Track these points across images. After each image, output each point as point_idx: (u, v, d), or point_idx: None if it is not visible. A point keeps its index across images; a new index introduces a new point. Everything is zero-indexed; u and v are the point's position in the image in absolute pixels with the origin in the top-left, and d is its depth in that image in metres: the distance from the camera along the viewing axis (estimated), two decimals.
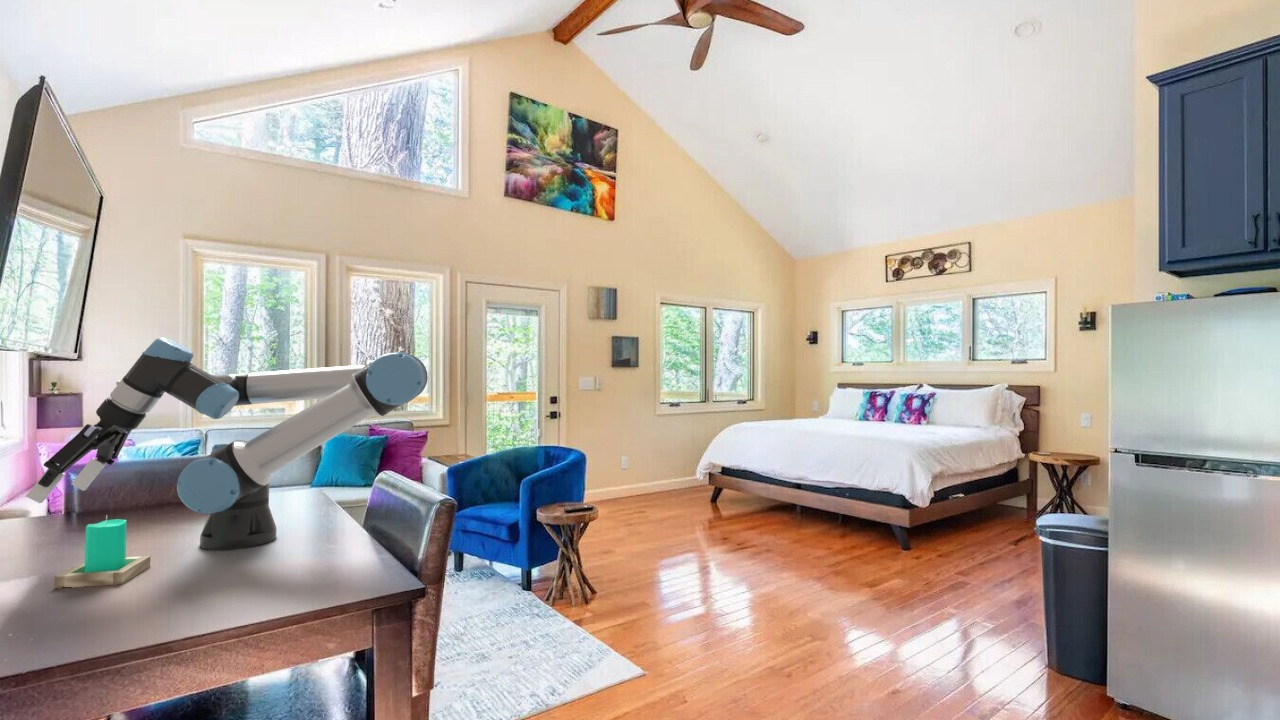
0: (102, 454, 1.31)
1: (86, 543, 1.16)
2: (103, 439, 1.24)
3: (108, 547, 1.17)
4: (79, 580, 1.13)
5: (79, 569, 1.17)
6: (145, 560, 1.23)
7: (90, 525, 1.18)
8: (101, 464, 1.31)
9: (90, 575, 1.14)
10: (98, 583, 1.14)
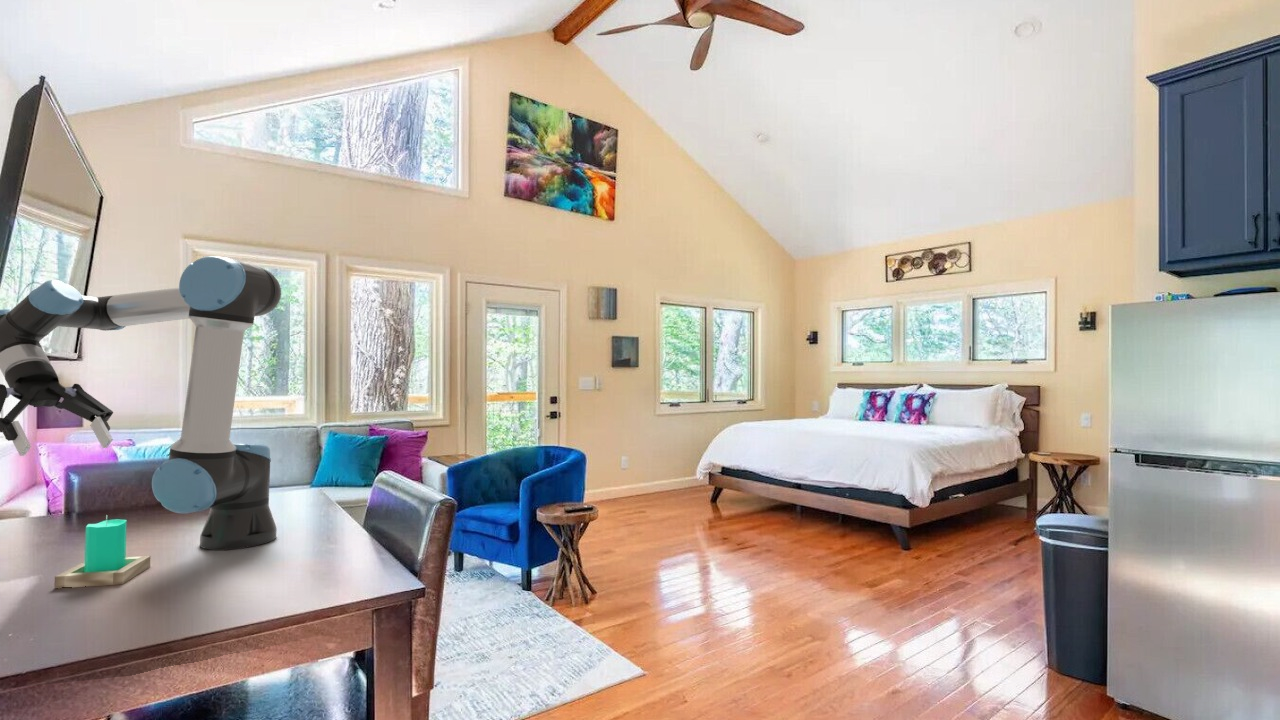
0: (87, 414, 1.31)
1: (86, 543, 1.16)
2: (28, 392, 1.24)
3: (108, 547, 1.17)
4: (79, 580, 1.13)
5: (79, 569, 1.17)
6: (145, 560, 1.23)
7: (90, 525, 1.18)
8: (95, 418, 1.31)
9: (90, 575, 1.14)
10: (98, 583, 1.14)
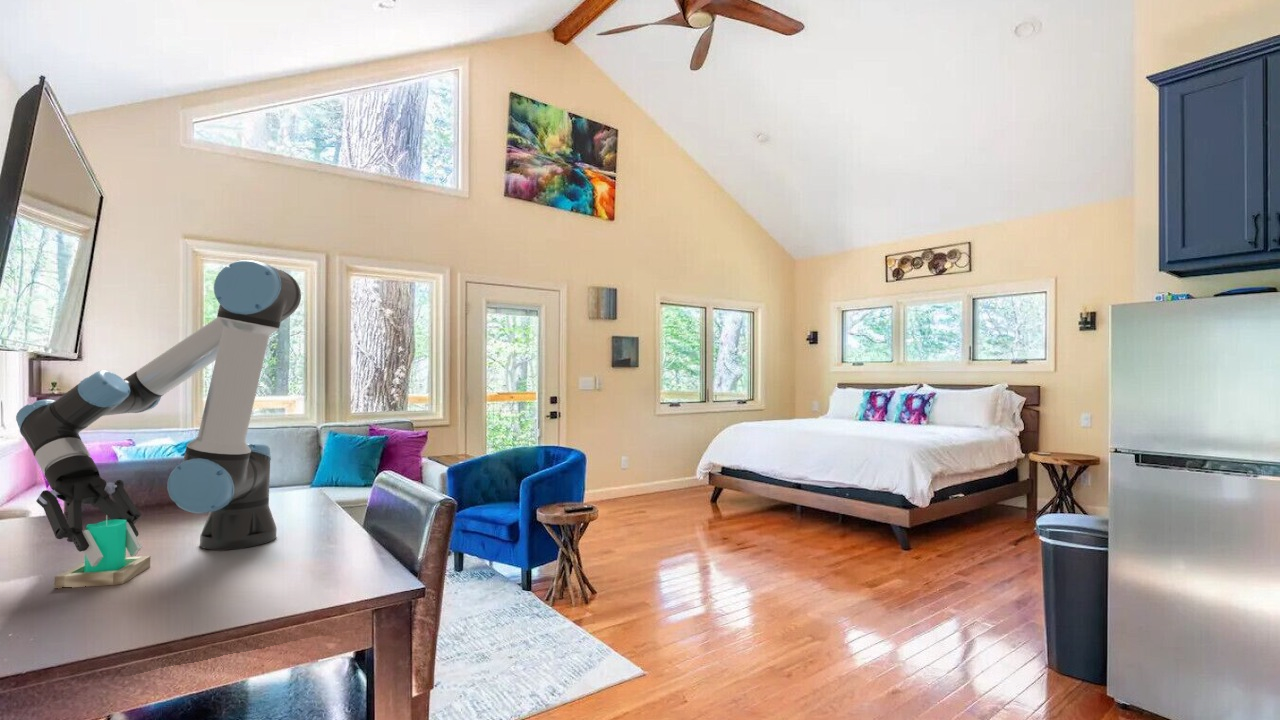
0: (115, 517, 1.23)
1: None
2: (73, 492, 1.19)
3: (108, 547, 1.17)
4: (79, 580, 1.13)
5: (79, 569, 1.17)
6: (145, 560, 1.23)
7: (90, 525, 1.18)
8: None
9: (90, 575, 1.14)
10: (98, 583, 1.14)
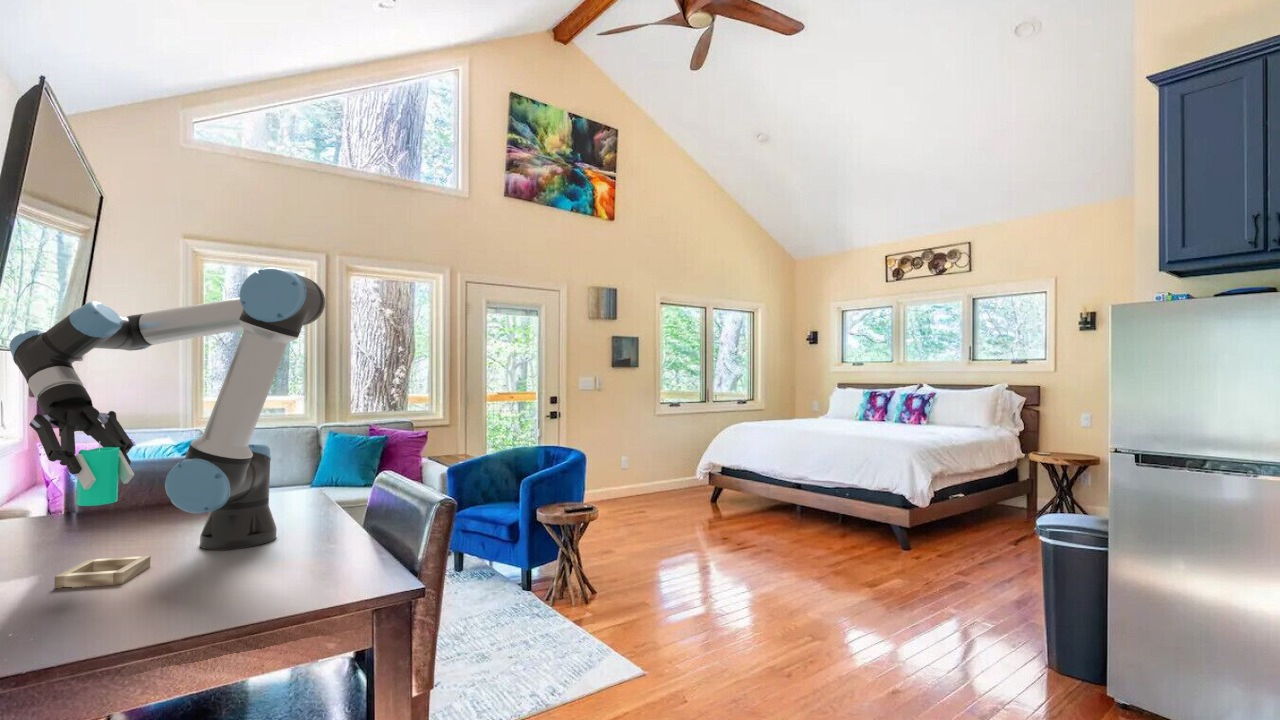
0: (108, 445, 1.24)
1: None
2: (66, 418, 1.20)
3: (101, 471, 1.18)
4: (79, 580, 1.13)
5: (79, 569, 1.17)
6: (145, 560, 1.23)
7: (83, 450, 1.19)
8: None
9: (90, 575, 1.14)
10: (98, 583, 1.14)
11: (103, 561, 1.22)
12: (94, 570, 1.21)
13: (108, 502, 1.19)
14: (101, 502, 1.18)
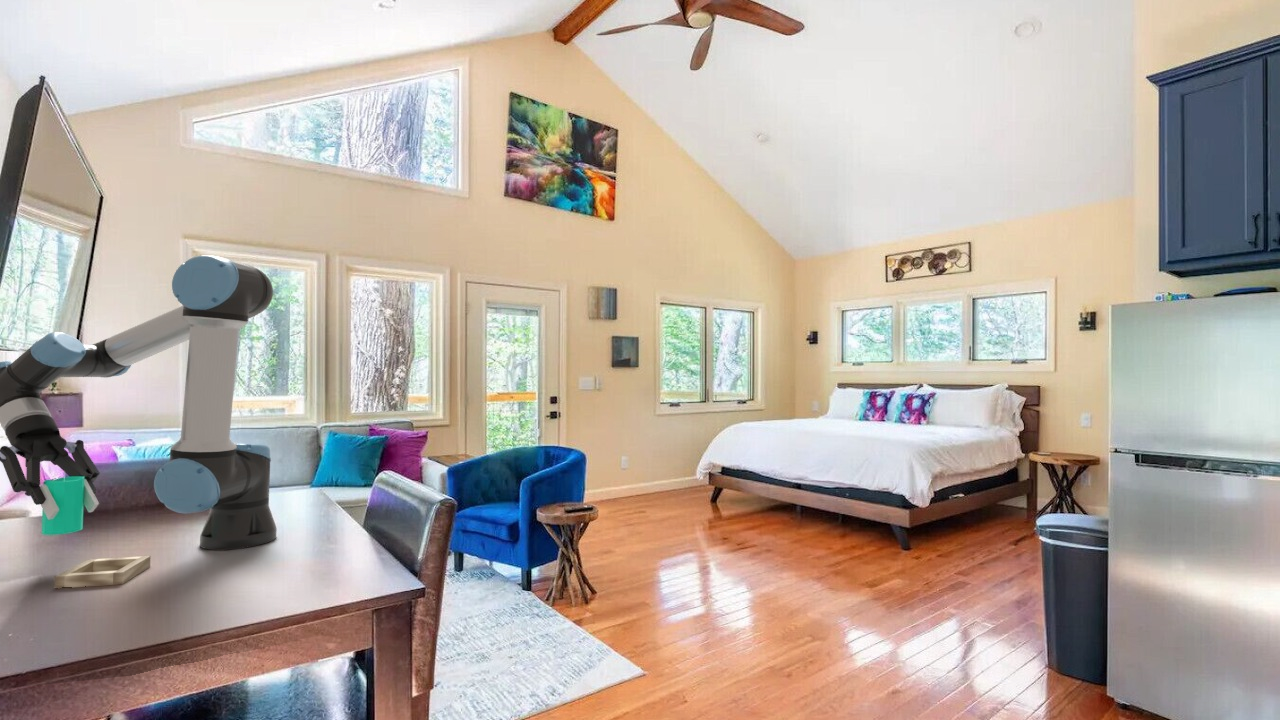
0: (74, 474, 1.27)
1: None
2: (32, 449, 1.23)
3: (65, 501, 1.21)
4: (79, 580, 1.13)
5: (79, 569, 1.17)
6: (145, 560, 1.23)
7: (48, 480, 1.22)
8: None
9: (90, 575, 1.14)
10: (98, 583, 1.14)
11: (103, 561, 1.22)
12: (94, 570, 1.21)
13: (72, 531, 1.22)
14: (65, 531, 1.21)
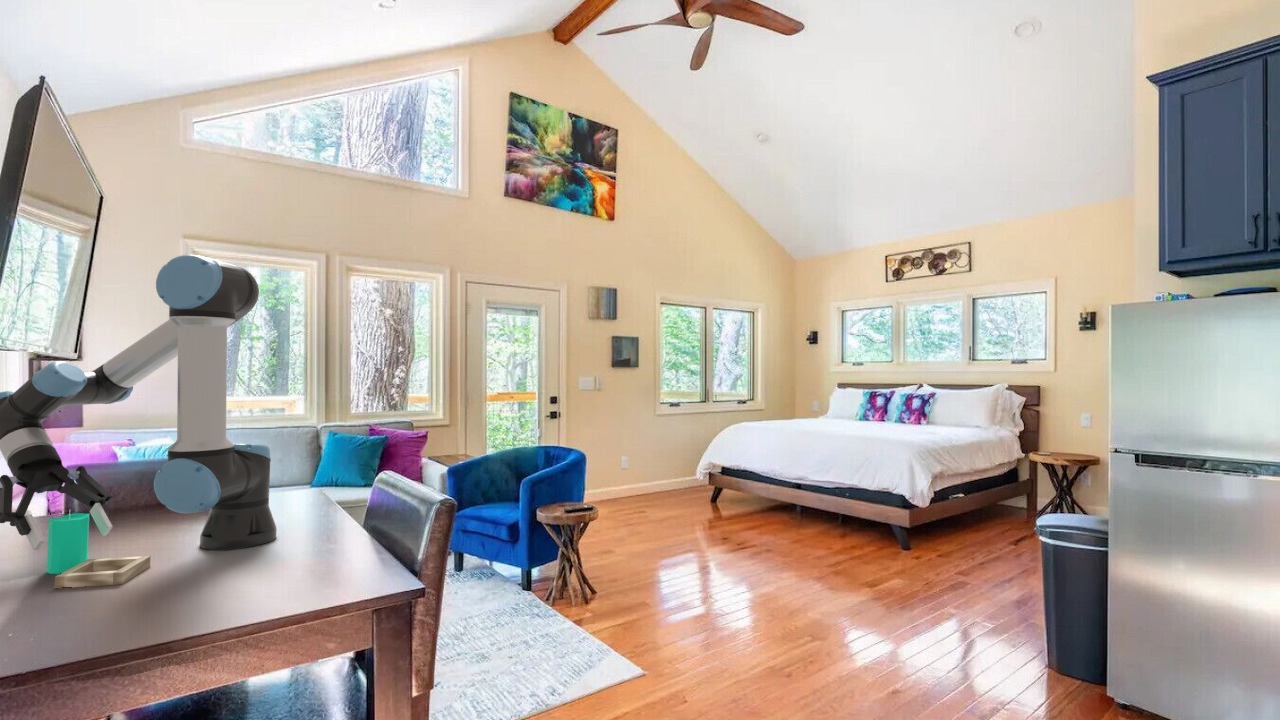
0: (86, 500, 1.29)
1: (49, 536, 1.21)
2: None
3: (71, 539, 1.21)
4: (79, 580, 1.13)
5: (79, 569, 1.17)
6: (145, 560, 1.23)
7: (53, 519, 1.22)
8: (94, 505, 1.28)
9: (90, 575, 1.14)
10: (98, 583, 1.14)
11: (103, 561, 1.22)
12: (94, 570, 1.21)
13: None
14: None
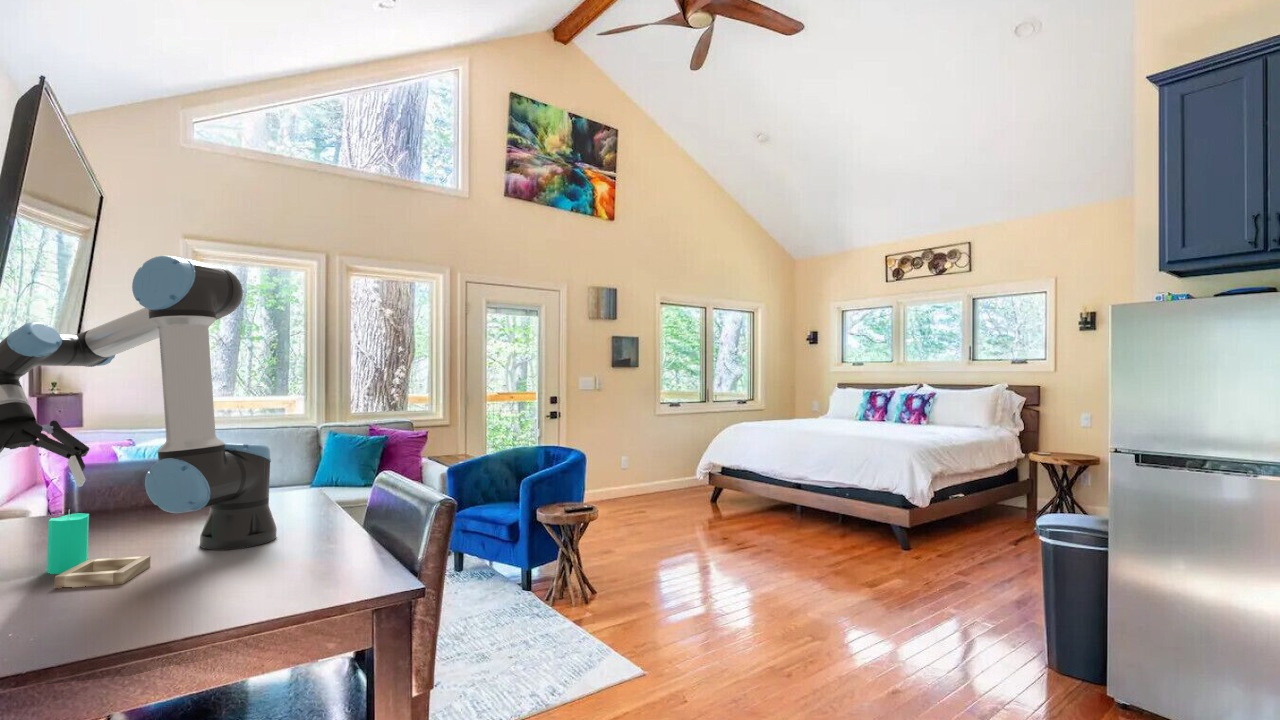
0: (63, 453, 1.35)
1: (49, 536, 1.20)
2: None
3: (71, 539, 1.21)
4: (79, 580, 1.13)
5: (79, 569, 1.17)
6: (145, 560, 1.23)
7: (52, 519, 1.22)
8: (70, 457, 1.35)
9: (90, 575, 1.14)
10: (98, 583, 1.14)
11: (103, 561, 1.22)
12: (94, 570, 1.21)
13: None
14: None
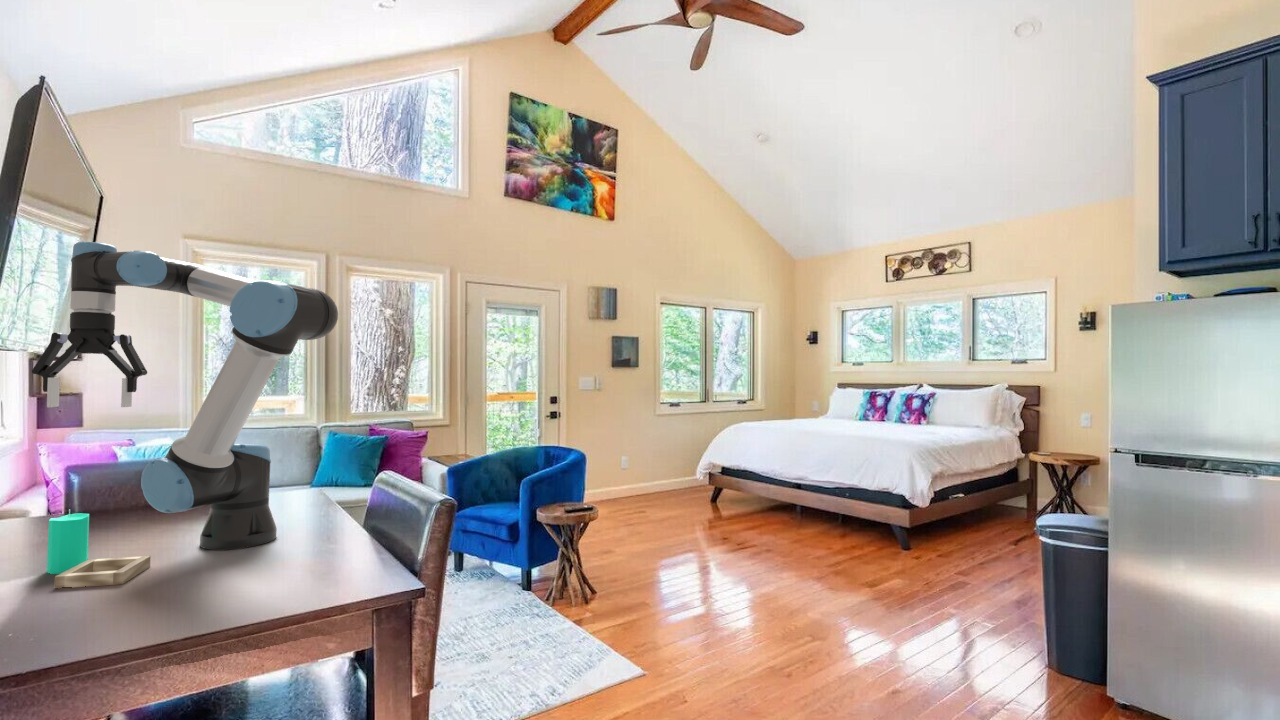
0: None
1: (49, 536, 1.21)
2: None
3: (71, 539, 1.21)
4: (79, 580, 1.13)
5: (79, 569, 1.17)
6: (145, 560, 1.23)
7: (53, 519, 1.22)
8: None
9: (90, 575, 1.14)
10: (98, 583, 1.14)
11: (103, 561, 1.22)
12: (94, 570, 1.21)
13: None
14: None
